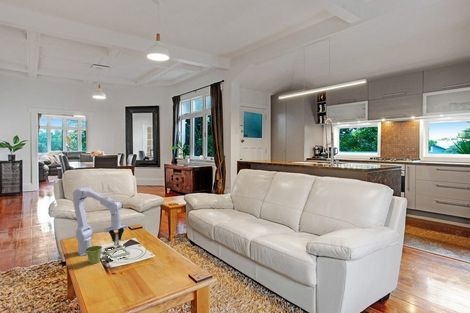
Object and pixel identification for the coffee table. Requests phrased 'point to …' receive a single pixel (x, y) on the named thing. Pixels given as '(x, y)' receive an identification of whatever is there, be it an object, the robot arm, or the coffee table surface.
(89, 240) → the robot arm
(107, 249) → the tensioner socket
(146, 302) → the coffee table surface
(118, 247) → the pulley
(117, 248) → the tray
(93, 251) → the plant pot
